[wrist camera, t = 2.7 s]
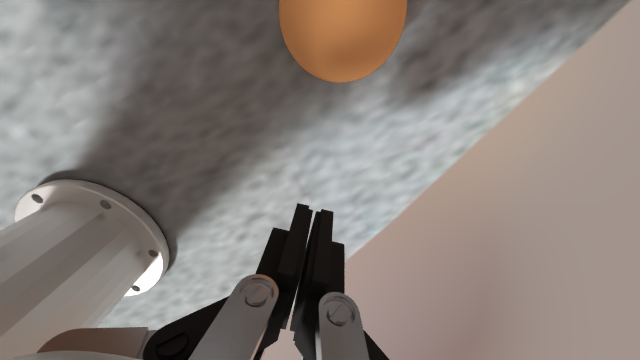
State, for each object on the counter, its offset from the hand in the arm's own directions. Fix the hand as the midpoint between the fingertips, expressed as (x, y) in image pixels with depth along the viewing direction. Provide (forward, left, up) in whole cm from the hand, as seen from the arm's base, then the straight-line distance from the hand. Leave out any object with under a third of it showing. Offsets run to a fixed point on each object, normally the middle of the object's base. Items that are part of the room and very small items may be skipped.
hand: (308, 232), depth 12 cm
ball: (+8, +4, -5) cm, 11 cm away
